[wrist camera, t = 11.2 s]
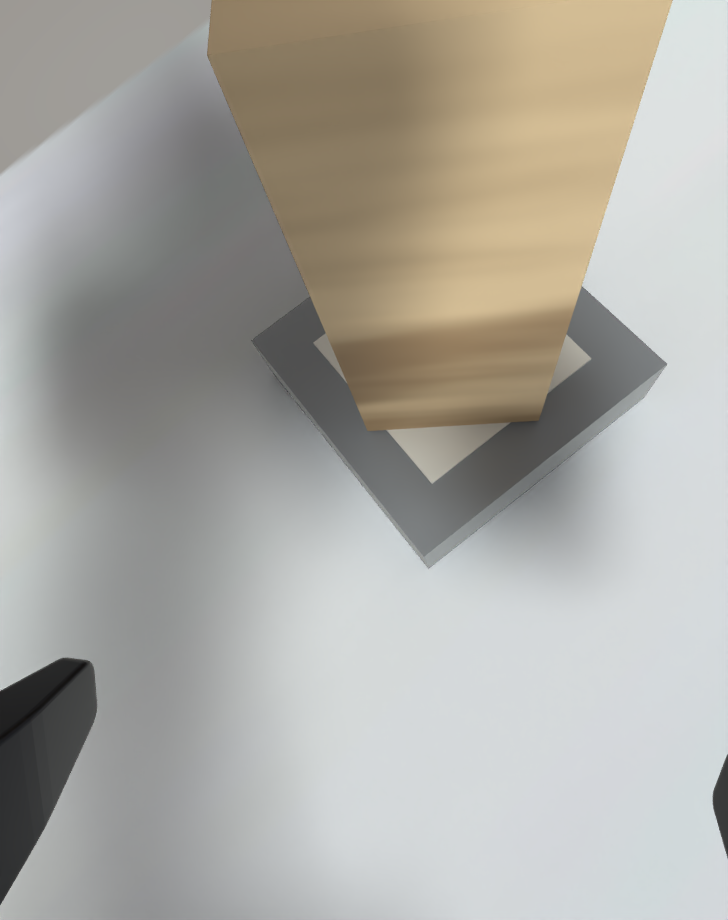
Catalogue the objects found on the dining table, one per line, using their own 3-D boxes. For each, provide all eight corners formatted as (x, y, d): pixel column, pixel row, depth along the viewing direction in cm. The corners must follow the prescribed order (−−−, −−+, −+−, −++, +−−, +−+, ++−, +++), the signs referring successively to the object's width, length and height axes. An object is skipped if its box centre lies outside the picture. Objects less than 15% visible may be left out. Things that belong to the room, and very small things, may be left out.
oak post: (538, 420, 18) (678, -17, 6) (367, 431, 19) (207, 54, 7) (523, 271, 20) (614, -307, 8) (365, 286, 20) (231, -224, 9)
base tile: (644, 397, 21) (668, 362, 18) (428, 568, 20) (423, 556, 18) (465, 228, 23) (465, 178, 21) (273, 373, 23) (250, 339, 20)
